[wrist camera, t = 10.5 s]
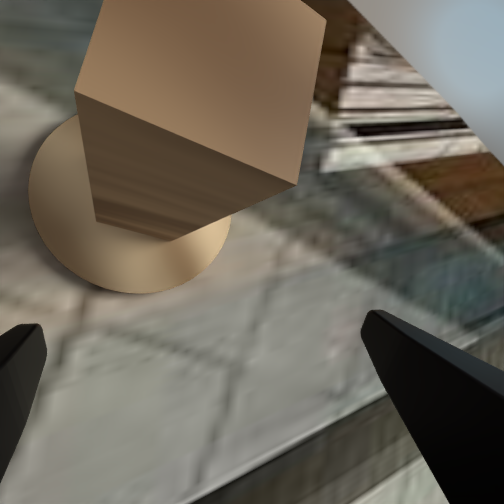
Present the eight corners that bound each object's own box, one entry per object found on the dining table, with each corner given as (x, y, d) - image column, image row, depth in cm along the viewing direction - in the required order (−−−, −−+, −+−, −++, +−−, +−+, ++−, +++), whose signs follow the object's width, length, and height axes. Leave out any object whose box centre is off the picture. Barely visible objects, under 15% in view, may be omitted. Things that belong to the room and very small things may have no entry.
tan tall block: (171, 241, 19) (296, 185, 7) (96, 221, 17) (73, 90, 5) (187, 178, 20) (326, 20, 7) (116, 152, 18) (143, -120, 5)
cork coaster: (125, 331, 18) (126, 334, 18) (-23, 169, 16) (-31, 163, 15) (255, 224, 23) (261, 222, 22) (158, 84, 20) (161, 75, 19)
